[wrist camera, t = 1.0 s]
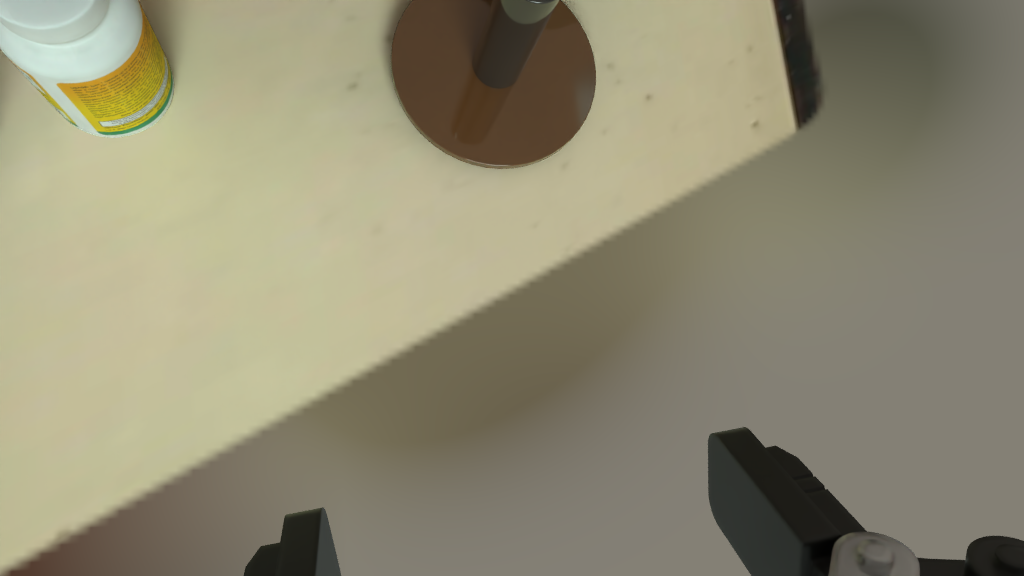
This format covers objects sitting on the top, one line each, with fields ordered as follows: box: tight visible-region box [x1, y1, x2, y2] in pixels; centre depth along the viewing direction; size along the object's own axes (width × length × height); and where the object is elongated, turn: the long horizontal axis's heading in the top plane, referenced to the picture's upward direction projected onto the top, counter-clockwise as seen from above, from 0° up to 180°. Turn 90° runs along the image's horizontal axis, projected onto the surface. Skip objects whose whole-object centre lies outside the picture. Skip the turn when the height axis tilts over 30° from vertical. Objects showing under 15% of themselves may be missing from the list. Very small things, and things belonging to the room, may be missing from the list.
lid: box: [391, 0, 596, 169], centre depth 35 cm, size 11×11×10 cm
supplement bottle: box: [0, 0, 174, 138], centre depth 31 cm, size 5×5×10 cm
